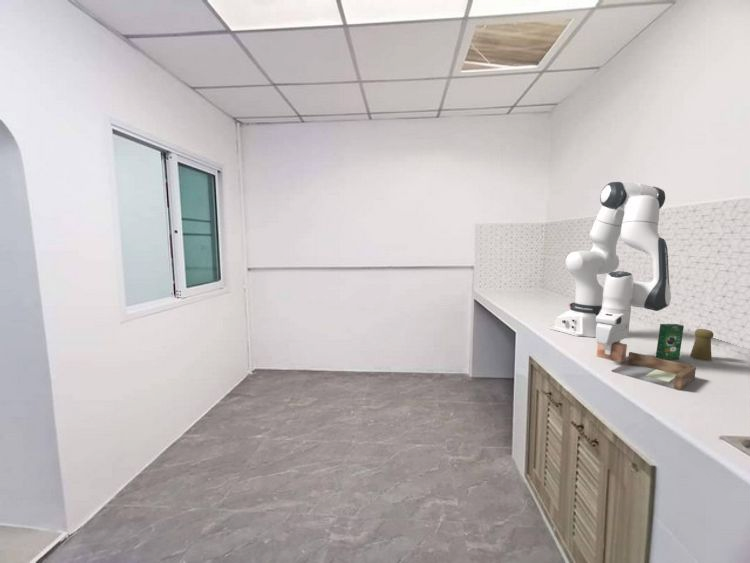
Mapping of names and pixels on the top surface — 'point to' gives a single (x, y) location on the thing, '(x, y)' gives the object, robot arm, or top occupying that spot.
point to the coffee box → (669, 341)
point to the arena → (657, 371)
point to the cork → (702, 345)
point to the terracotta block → (613, 352)
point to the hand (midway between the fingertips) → (611, 352)
